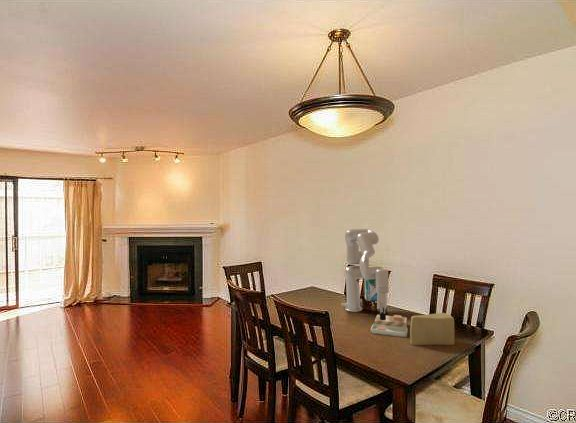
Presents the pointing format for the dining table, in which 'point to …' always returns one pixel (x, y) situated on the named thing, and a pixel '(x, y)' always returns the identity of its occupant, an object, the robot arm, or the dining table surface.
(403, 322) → the white food package
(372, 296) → the milk carton
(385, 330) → the tile
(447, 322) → the tan rounded block
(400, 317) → the tile
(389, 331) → the tray
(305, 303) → the dining table surface
